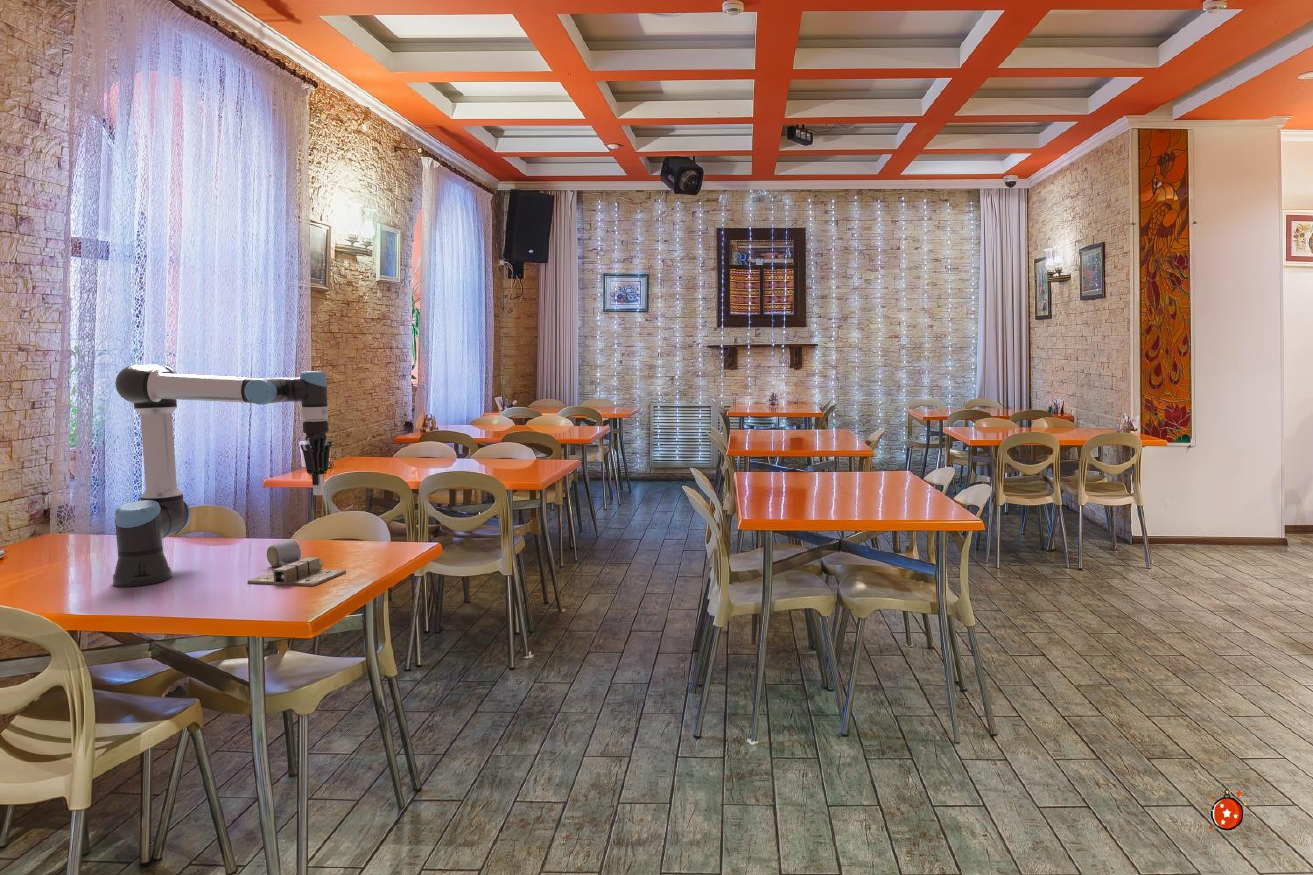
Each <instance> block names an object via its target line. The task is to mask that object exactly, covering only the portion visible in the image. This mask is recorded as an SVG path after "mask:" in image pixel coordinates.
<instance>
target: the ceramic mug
mask: <svg viewBox="0 0 1313 875" xmlns="http://www.w3.org/2000/svg"><path fill="white" fill-rule="evenodd" d="M301 557H302V552H301V548H300V544H299V543H298V542H297V541H296V540H295V539H289V540H285V541H281V542H278V543H274V544H271V545H269V546H268V548H267V549H266V559H267V562H268V563H269V565H270V566H271V567H274V568H279V567H282V566H286V565H288V564H290V563H293V562H298V561H299V560H301V559H302V558H301Z"/></svg>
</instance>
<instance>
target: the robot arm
mask: <svg viewBox="0 0 1313 875" xmlns="http://www.w3.org/2000/svg"><path fill="white" fill-rule="evenodd" d="M327 382H328V381H327V375H326V373H325V371H320V370H318V371H317V370H313V371H312V370H311V371H306V370H305V371H301V372H300V374H299V377H263V378H261V377H241V376H237V377H236V376H222V375H221V376H220V375H219V376H218V375H205V374H204V375H203V374H202V375H201V374H199V375H198V374H183V373H181V374H180V373H178V372H177V371H176V370H175V369H173V368H172V367H170V366H167V365H162V364H156V363H154V364H133V365H129V366H126V367H125V368H122V369H121V370H120V371H119V372H118V374H117V375H116V377H115V383H114V384H115V389H116V391H117V393H118V395H119V396H120V397H121V398H123V400H125V401H127V402H130V403H131V404H132V403H133V409H134V411H135V412H138V414H140V415H139V416H140V427H141V428H140V429H141V442H142V456H143V458H142V459H143V470H144V482H145V483H144V485H145V491H144V492H143V493H142V494H141V495H140V500H138V501H137V500H135V501H133V502H127V503H124V504H121V505H120V506H118V507H117V508H116V509H115V511H114V525H115V536H116V547H117V561H116V565H115V571H114V574H113V575H112V585H113V586H116V587H122V588H124V587H128V588H129V587H140V586H147V585H152V584H158V583H162V582H164V581H168V580H169V579H171V578H172V577H173V575H172V569H171V567H169V564H168V560H167V558H166V556H165V554H164V547H163V546H164V543H163V539H165V538H168V537H172V536H174V535H177V534H179V533H180V532H181V531H183V530H184V529H185V528H186V527H187V526H188V525H189V523H190V520H191V517H192V516H191V515H192V510H191V507H190V505H189V504H188V503H187V502H186V500H184V492H182V490H180V489H179V488H178V483H177V468H176V467H177V466H176V454H175V453H176V452H175V438H174V426H173V424H174V423H173V412H174V411H175V410H176V409H177V408H178V404H177V403H178V402H177V401H178V400H180V401H181V400H182V401H201V402H202V401H203V402H221V403H222V402H225V403H227V402H228V403H244V404H247V403H248V404H254V405H260V406H261V405H268V404H275V403H287V402H289V403H290V402H292V403H293V402H299V403H300V402H301V419H302V420H303V421H302V433H303V434H305V435H306V436H305V442H304V443H301V444H300V445H299V446H300V449H301V450H302V455H303V459H304V464H305V468H306V469H305V470H306V473H307V474H308V475H311V477H312V479H311V481H312V482H311V483H312V493H313V496H324V494H325V492H324V490H325V489H324V474H325V475H326V474H327V473H328V472H327V471H328V470H329V460H330V453H331V452H330V451H331V450H330V449H331V446H332V440H328V438H327V433H329V432H330V431H329V427H330V426H329V421H328V419H329V413H328V411H329V410H328V383H327Z"/></svg>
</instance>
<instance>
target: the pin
mask: <svg viewBox="0 0 1313 875" xmlns="http://www.w3.org/2000/svg"><path fill="white" fill-rule="evenodd" d="M318 558H319V562H320V569H323V567H324V561H323V559H321V558H320V557H318ZM296 569H297V568H296ZM279 579H280V580H281V581H284V573H282V574H280V575H279Z"/></svg>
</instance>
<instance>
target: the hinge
mask: <svg viewBox="0 0 1313 875" xmlns="http://www.w3.org/2000/svg"><path fill="white" fill-rule="evenodd" d="M319 558H320V557H313V556H308V557H305V558H300V560H299V561H298V562H293V563H290V564H288V565H286V566H280V567H276V568H273V569H272V570H273V571H271V572H268V573H267V572H266V573H265V574H262V575H258V576H257V577H253V578H251V579H248V580H247V584H253V585H254V584H255V585H274V586H275V585H276V586H278V585H279V586H297V587H298V586H299V587H315V586H318V585H320V584H323V583H325V582H327V581H329V580H332V579H334V578H337V577H339V576H342V575H343V574H344V575H345V574H346V572H347V570H346V569H331V568H330V569H329V568H328V569H327V568H321V569H320V562H319ZM296 568H297V569H296ZM282 573H284V581H281V580H280V579H279V575H280V574H282Z"/></svg>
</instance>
